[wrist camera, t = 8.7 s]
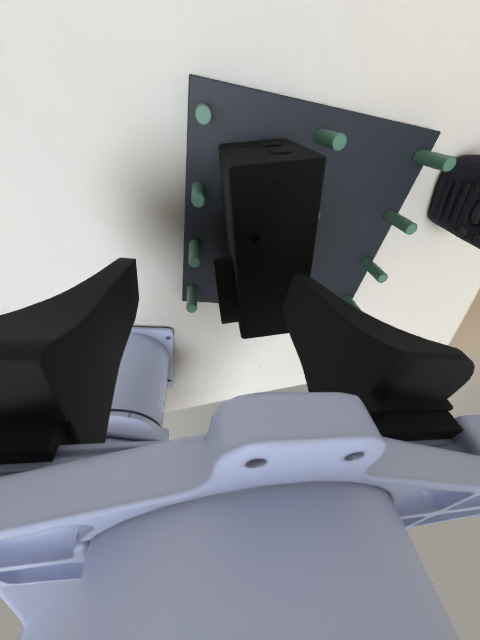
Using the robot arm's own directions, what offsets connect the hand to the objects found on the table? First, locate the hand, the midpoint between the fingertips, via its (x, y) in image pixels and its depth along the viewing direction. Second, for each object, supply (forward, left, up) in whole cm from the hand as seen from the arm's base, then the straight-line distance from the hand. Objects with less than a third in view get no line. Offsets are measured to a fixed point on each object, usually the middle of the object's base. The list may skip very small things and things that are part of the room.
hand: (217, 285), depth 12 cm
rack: (0, -6, -10) cm, 12 cm away
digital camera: (0, -3, -9) cm, 10 cm away
